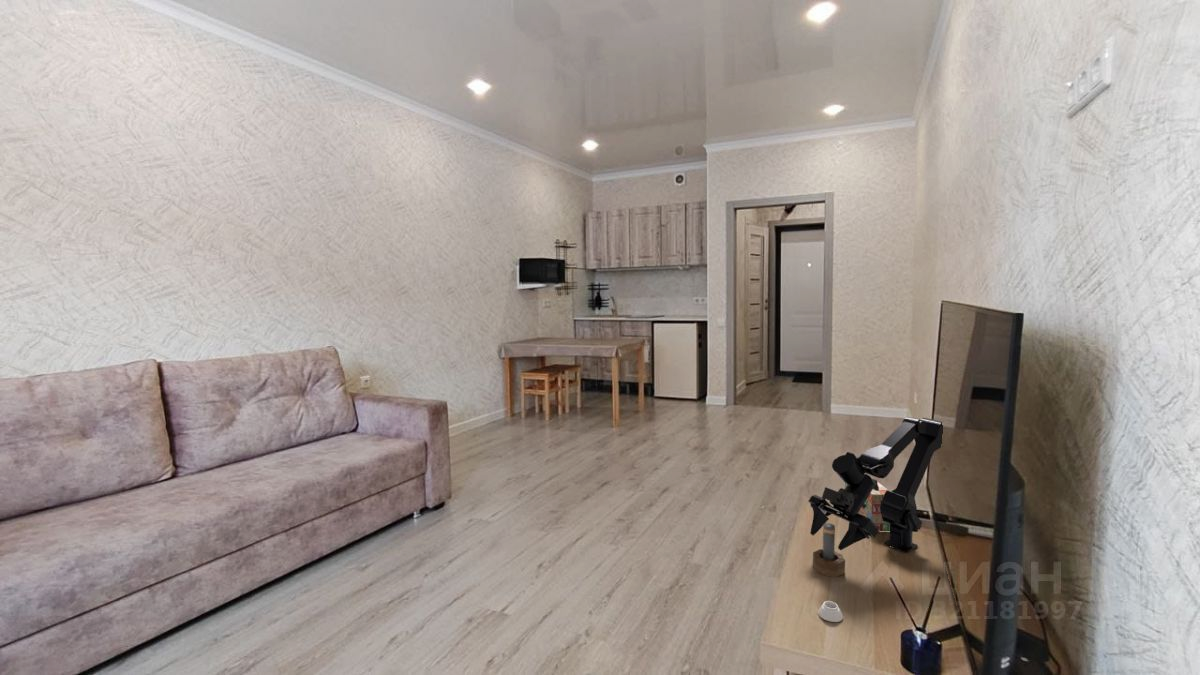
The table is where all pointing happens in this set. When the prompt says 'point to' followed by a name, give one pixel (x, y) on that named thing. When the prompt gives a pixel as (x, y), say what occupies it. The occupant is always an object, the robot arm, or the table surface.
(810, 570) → the table surface
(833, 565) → the bead
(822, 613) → the white jar
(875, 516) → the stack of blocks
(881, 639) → the table surface
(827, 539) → the grey knob-topped cylinder
